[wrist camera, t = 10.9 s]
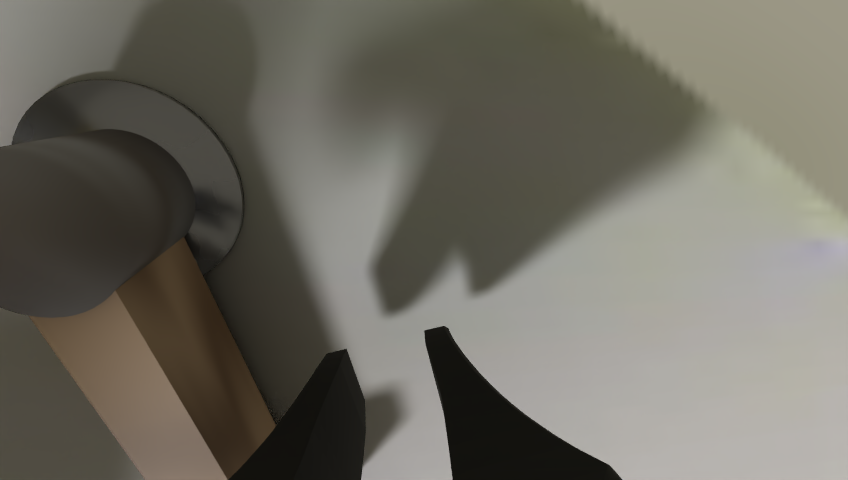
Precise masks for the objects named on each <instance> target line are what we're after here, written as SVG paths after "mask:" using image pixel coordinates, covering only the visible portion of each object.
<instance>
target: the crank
mask: <svg viewBox="0 0 848 480" xmlns="http://www.w3.org/2000/svg"><path fill="white" fill-rule="evenodd" d="M195 207H196V203H195V195H194V191H193V188H192V185H191V182H190V180H189V178H188V176H187V174H186V173H185V171H184V170H183V168H182V167H181V165H180V164H179V163H178V162H177V161H176V159H175V158H174V157H173V156H172V155H171V154H169V153H168V152H167V151H166V150H165V149H163V148H162V147H161V146H159V145H158V144H156V143H155V142H153V141H151V140H150V139H147V138H145V137H143V136H141V135H138V134H135V133H132V132H128V131H124V130H117V129H101V130H95V131H89V132H83V133H77V134H72V135H66V136H60V137H55V138H49V139H43V140H38V141H32V142H26V143H21V144H15V145H9V146H3V147H0V307H1V308H3V309H6V310H9V311H12V312H15V313H20V314H24V315H28V316H29V317H30V319H31V320H32V321H33V323H34V324H35V326H36V327H37V328H38V330H39V331H40V333H41V334H42V335H43V337H44V338H45V340H46V341H47V342H48V344H49V345H50V347H51V348H52V350H53V351H54V352H55V354H56V355H57V357H58V358H59V359H60V361H61V362H62V364H63V365H64V366H65V368H66V369H67V371H68V372H69V373H70V375H71V376H72V378H73V379H74V380H75V382H76V383H77V385H78V386H79V388H80V389H81V390H82V392H83V393H84V395H85V396H86V397H87V399H88V400H89V402H90V403H91V404H92V406H93V407H94V409H95V410H96V411H97V413H98V414H99V416H100V417H101V418H102V420H103V421H104V423H105V424H106V426H107V427H108V428H109V430H110V431H111V433H112V434H113V435H114V437H115V438H116V440H117V441H118V442H119V444H120V445H121V447H122V448H123V449H124V451H125V452H126V454H127V455H128V457H129V458H130V459H131V461H132V462H133V464H134V465H135V466H136V468H137V469H138V471H139V472H140V473H141V475H142V476H143V478H144V479H145V480H228V479H229V478H230V477H231V476H232V475H233V474H234V473H235V472H236V471H238V469H239V468H240V467H241V466H242V465H243V464H244V463H245V462H246V461H247V460H248V459H249V458H250V456H251V455H252V454H253V453H254V452H255V451H256V450H257V449H258V448H259V446H260V445H261V444H262V443H263V442H264V441H265V439H266V438H267V437H268V436H269V435H270V433H271V432H272V431H273V429H274V428H275V427H276V425H275V423H274V421H273V419H272V416H271V414H270V412H269V410H268V408H267V406H266V404H265V402H264V400H263V398H262V396H261V394H260V392H259V390H258V388H257V386H256V384H255V382H254V380H253V378H252V375H251V373H250V371H249V369H248V367H247V365H246V363H245V361H244V359H243V357H242V355H241V353H240V351H239V349H238V347H237V345H236V343H235V341H234V339H233V337H232V335H231V332H230V330H229V328H228V326H227V324H226V322H225V320H224V318H223V316H222V314H221V312H220V310H219V308H218V306H217V304H216V302H215V300H214V298H213V296H212V294H211V292H210V289H209V287H208V285H207V283H206V281H205V279H204V277H203V275H202V273H201V271H200V269H199V267H198V265H197V263H196V261H195V259H194V257H193V255H192V253H191V251H190V248H189V246H188V244H187V242H186V240H185V238H184V237H185V235H186V234H187V233H188V231H189V230H190V228H191V226H192V223H193V221H194V216H195Z"/></svg>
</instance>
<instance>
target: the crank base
mask: <svg viewBox="0 0 848 480" xmlns="http://www.w3.org/2000/svg"><path fill="white" fill-rule="evenodd" d="M101 129H117V130H124V131H128V132H132V133H135V134H138V135H141V136H143V137H145V138H147V139H150V140H151V141H153V142H155V143H156V144H158V145H159V146H161V147H162V148H163V149H165V150H166V151H167V152H168V153H169V154H171V155H172V156H173V157H174V158H175V159H176V161H177V162H178V163H179V164H180V165H181V167H182V168H183V170H184V171H185V173H186V174H187V176H188V178H189V180H190V182H191V185H192V188H193V191H194V195H195V203H196V207H195V216H194V221H193V223H192V226H191V228H190V230H189V231H188V233H187V234H186V235H185V237H184V238H185V240H186V242H187V244H188V246H189V248H190V251H191V253H192V255H193V257H194V259H195V261H196V263H197V265H198V267H199V269H200V271H201V273H202V275H203V274H205V273H206V272H208V271H210V270H211V269H212V268H213V267H215V266H216V265H217V264H218V263H219V262H220V261H221V260H222V259H223V258H224V257H225V256H226V254H227V253H228V252H229V251H230V249H231V248H232V246H233V245H234V243H235V241H236V239H237V237H238V234H239V232H240V229H241V225H242V221H243V214H244V194H243V189H242V184H241V180H240V177H239V174H238V171H237V168H236V166H235V163H234V161H233V159H232V157H231V155H230V153H229V152H228V150H227V149H226V147H225V145H224V144H223V142H222V141H221V140H220V138H219V137H218V136H217V135H216V133H215V132H214V131H213V130H212V129H211V128H210V127H209V126H208V125H207V124H206V123H205V122H204V121H203V120H202V119H201V118H200V117H199V116H198V115H196V114H195V113H194V112H193V111H191V110H190V109H189V108H187V107H186V106H184V105H183V104H181V103H180V102H178V101H177V100H175V99H173V98H171V97H169V96H167V95H165V94H163V93H161V92H159V91H157V90H154V89H151V88H148V87H146V86H143V85H139V84H134V83H130V82H125V81H116V80H87V81H81V82H74V83H71V84H68V85H65V86H61V87H59V88H57V89H55V90H53V91H51V92H49V93H47V94H45V95H44V96H43V97H41V98H40V99H39V100H37V101H36V102H35V103H34V104H33V105H32V106H31V107H30V108H29V109H28V110H27V111H26V113H25V114H24V116H23V117H22V119H21V120H20V122H19V124H18V126H17V129H16V131H15V134H14V136H13V141H12V145H15V144H21V143H26V142H32V141H38V140H43V139H49V138H55V137H60V136H66V135H72V134H77V133H83V132H89V131H95V130H101Z"/></svg>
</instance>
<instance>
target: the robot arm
mask: <svg viewBox="0 0 848 480" xmlns="http://www.w3.org/2000/svg"><path fill="white" fill-rule="evenodd" d="M425 343H426V347H427V351H428V355H429V359H430V363H431V366H432V370H433V374H434V378H435V381H436V385H437V389H438V393H439V397H440V400H441V404H442V408H443V412H444V417H445V424H446V431H447V438H448V445H449V453H450V461H451V469H452V477H453V480H622V479H621V478H620V477H619V475H618V474H617V473H616V472H615V471H614V470H613V468H612V467H611V466H610V465H608V464H606V463H604V462H602V461H600V460H598V459H596V458H594V457H592V456H591V455H589V454H587V453H585V452H583V451H581V450H579V449H577V448H575V447H574V446H572V445H570V444H569V443H567V442H565V441H564V440H562V439H560V438H559V437H557V436H556V435H554V434H552V433H551V432H550V431H548V430H547V429H545V428H544V427H542V426H541V425H539V424H538V423H537V422H535V421H534V420H532V419H531V418H529V417H528V416H527V415H525V414H524V413H523V412H521V411H520V410H519V409H518V408H516V407H515V406H514V405H513V404H511V403H510V402H509V401H508V400H507V399H506V398H505V397H503V396H502V395H501V394H500V393H499V392H498V391H497V390H496V389H495V388H494V387H493V386H492V385H491V384H490V383H489V382H488V381H487V380H486V379H485V378H484V377H483V376H482V375H481V374H480V373H479V372H478V371H477V369H476V368H475V367H474V366H473V365H472V364H471V362H470V361H469V360H468V359H467V358H466V356H465V355H464V354H463V352H462V351H461V350H460V348H459V347H458V345H457V344H456V342H455V341H454V339H453V337H452V335H451V333H450V331H449V329H448V328H447V327H445V326H442V327H437V328H433V329H429V330H425ZM365 433H366V426H365V399H364V396H363V394H362V391H361V388H360V385H359V382H358V380H357V377H356V374H355V371H354V369H353V366H352V363H351V360H350V357H349V355H348V352H347V349H344V350H340V351H336V352H332V353H327V354H326V356H325V357H324V359H323V360H322V362H321V363H320V364H319V366H318V367H317V369H316V370H315V372H314V374H313V375H312V377H311V378H310V380H309V381H308V383H307V384H306V386H305V387H304V389H303V390H302V391H301V393H300V394H299V396H298V397H297V399H296V400H295V401H294V403H293V404H292V406H291V407H290V408H289V410H288V411H287V412H286V414H285V415H284V416H283V418H282V419H281V420H280V422H279V423H278V424H277V426H276V427H275V428H274V429H273V431H272V432H271V433H270V435H269V436H268V437H267V438H266V439H265V441H264V442H263V443H262V444H261V445H260V446H259V448H258V449H257V450H256V451H255V452H254V453H253V454H252V455H251V456H250V458H249V459H248V460H247V461H246V462H245V463H244V464H243V465H242V466H241V467H240V468H239V469H238V471H236V472H235V473H234V474H233V475H232V476H231V477H230V478H229V479H228V480H361V475H362V465H363V455H364V444H365Z"/></svg>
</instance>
